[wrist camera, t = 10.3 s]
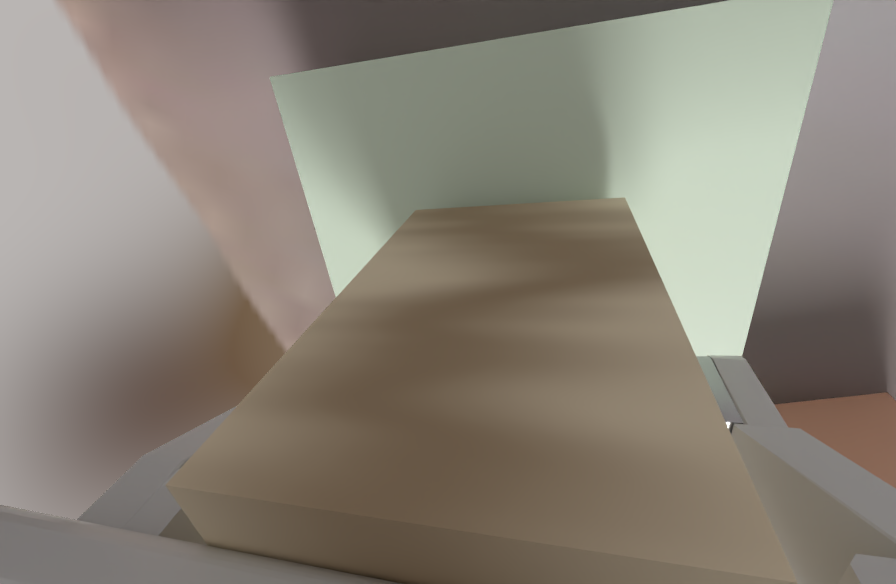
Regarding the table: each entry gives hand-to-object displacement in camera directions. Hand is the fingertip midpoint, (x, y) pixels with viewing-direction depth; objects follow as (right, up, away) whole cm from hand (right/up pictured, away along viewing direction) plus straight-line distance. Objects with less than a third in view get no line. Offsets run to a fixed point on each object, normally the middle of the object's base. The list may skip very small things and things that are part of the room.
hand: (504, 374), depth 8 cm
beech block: (+1, +2, +3) cm, 3 cm away
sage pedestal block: (+2, +4, +7) cm, 8 cm away
